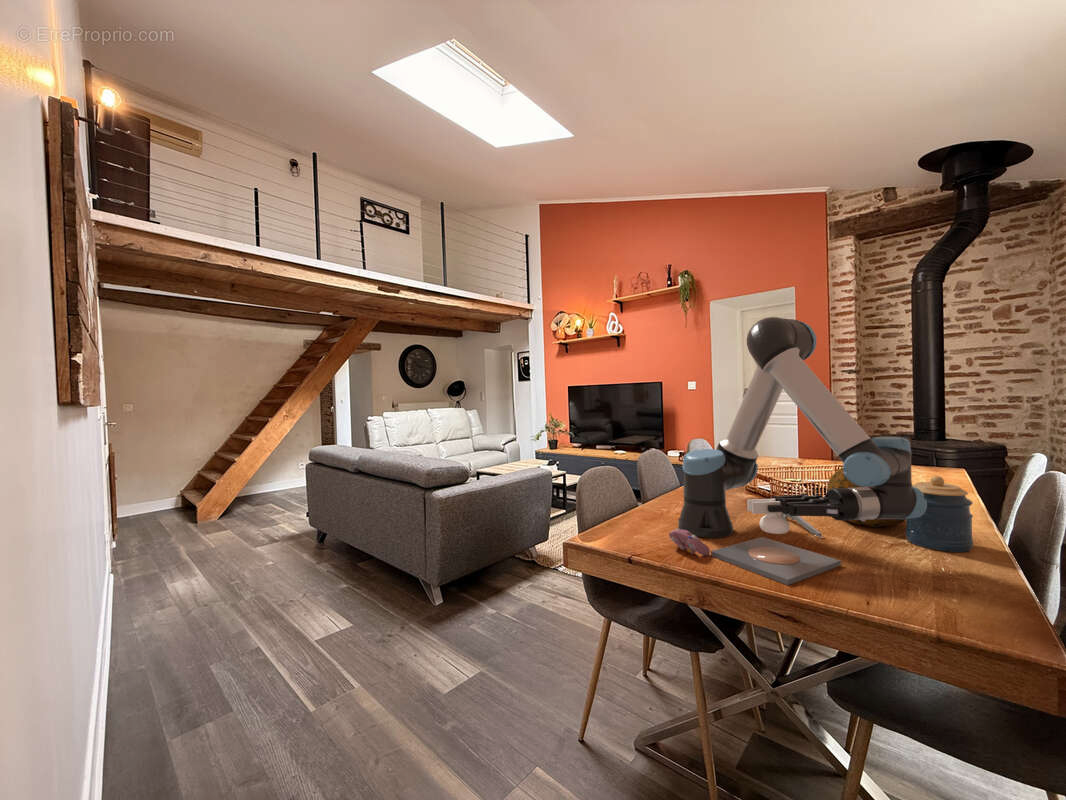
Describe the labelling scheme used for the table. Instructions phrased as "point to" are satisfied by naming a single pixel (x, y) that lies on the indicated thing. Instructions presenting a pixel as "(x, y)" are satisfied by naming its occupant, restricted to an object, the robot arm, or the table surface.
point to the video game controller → (688, 542)
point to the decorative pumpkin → (842, 482)
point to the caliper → (803, 524)
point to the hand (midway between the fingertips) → (750, 506)
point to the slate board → (776, 560)
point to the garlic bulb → (774, 523)
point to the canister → (942, 518)
